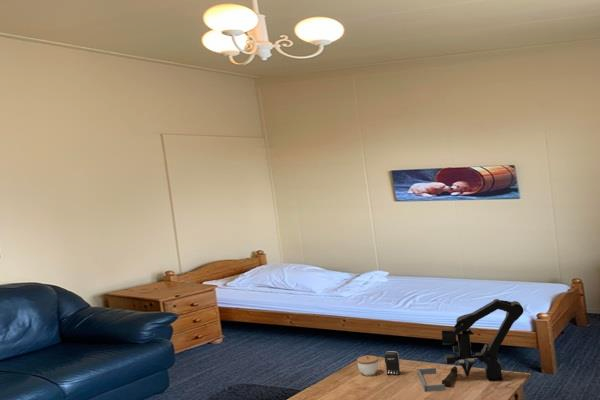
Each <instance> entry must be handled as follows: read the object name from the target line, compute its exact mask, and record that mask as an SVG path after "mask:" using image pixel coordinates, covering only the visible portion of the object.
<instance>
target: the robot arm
mask: <svg viewBox="0 0 600 400" xmlns="http://www.w3.org/2000/svg"><path fill="white" fill-rule="evenodd" d="M497 310H500V311H503V312H506V313H505V317H504V319H503V321H502V322H501V324H500V326H499V328H498V330H497V331H496V333H495V334H494V337H493V338H492V340H491V341H490V343H489V344H487V343H484V346H483V348H482V349H481V350H480V352H475V355H472V344H471V336H473V335H474V334H475V333H474V331H473V330H472V329H471V328H472V326H473V325H474V324H475V323H476V322H477V321H479V320H481V319H483V318H485V317H486V316H488V315H490V314H492V313H494V312H495V311H497ZM523 313H524V307H523V306H522V304H521V302H519V301H517V300H514V301H510V300H503V299H499V298H495V299H493V300H492V301H490V302H488V303H487V304H484V306H481V307H480V308H478V309H476V310H475V311H473V312H470V313H466V314H462V315H460V316H458V317H457V318H456V320H455V321H456V322H455V325H454V326H453V328H452V329H441V344H442V345H453V346H452V351H453V353H454V354H457V355H458V356H454V354H445V356H444V362H445V363H446V365H454V364H455V363H456V362H457V364H458V365H459V366H461V367H462V369H463V371H464V373H465V377H469V375H470V372H471V369H472V367H473V365H475V364H476V363H475V360H478V361H479V362H481V363H482V362H483V363H484V364H486V365H485V368H484V372H485V378H486V379H487V380H488V381H489V382H496V381H504V378H503V376H502V375H503V374H502V373H503V372H502V365H501V362H500V359H499V357H498V353H499V348H500V347H501V345H502V344H503V342H504V341H505V338H506V336H507V335H508V333H509V331H510V329H511V328H512V326H513V324H514V323H515V322H516V321H518V320H519V319H520V317H521V316H522V315H523ZM456 343H457V345H455V344H456ZM465 361H466V362H465Z"/></svg>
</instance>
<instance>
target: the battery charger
mask: <svg viewBox="0 0 600 400" xmlns="http://www.w3.org/2000/svg"><path fill="white" fill-rule="evenodd" d="M384 363H385V370H386V375H387V376H399V375H401V370H400V355H399V352H397V351H391V350H390V351H386V352H385V353H384Z"/></svg>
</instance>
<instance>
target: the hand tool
mask: <svg viewBox="0 0 600 400" xmlns="http://www.w3.org/2000/svg"><path fill="white" fill-rule="evenodd" d="M458 373H459V372H458V366H456V365H455V366H452V367H451V369H450V371H449V373H448V374H447V375H446V377H445V378H444V379H442V380H441V384H444V385H445V388H450V387H451V386H452V383H453V382H454V381H455V379H457V378H458Z"/></svg>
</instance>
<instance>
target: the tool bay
mask: <svg viewBox="0 0 600 400" xmlns="http://www.w3.org/2000/svg"><path fill="white" fill-rule="evenodd" d="M430 374H431V375H432V374H433V375H434V374H437V367H429V368H428V367H427V368H417V375H418V379H419V381H420V383H421V385H422V387H423V389H424V392H436V391H437V392H439V391H446V387H445V385H444V384H442V383H441V384H429V385H428V384H427V383H426V381H425V379H424V377H423V376H424V375H430Z"/></svg>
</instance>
